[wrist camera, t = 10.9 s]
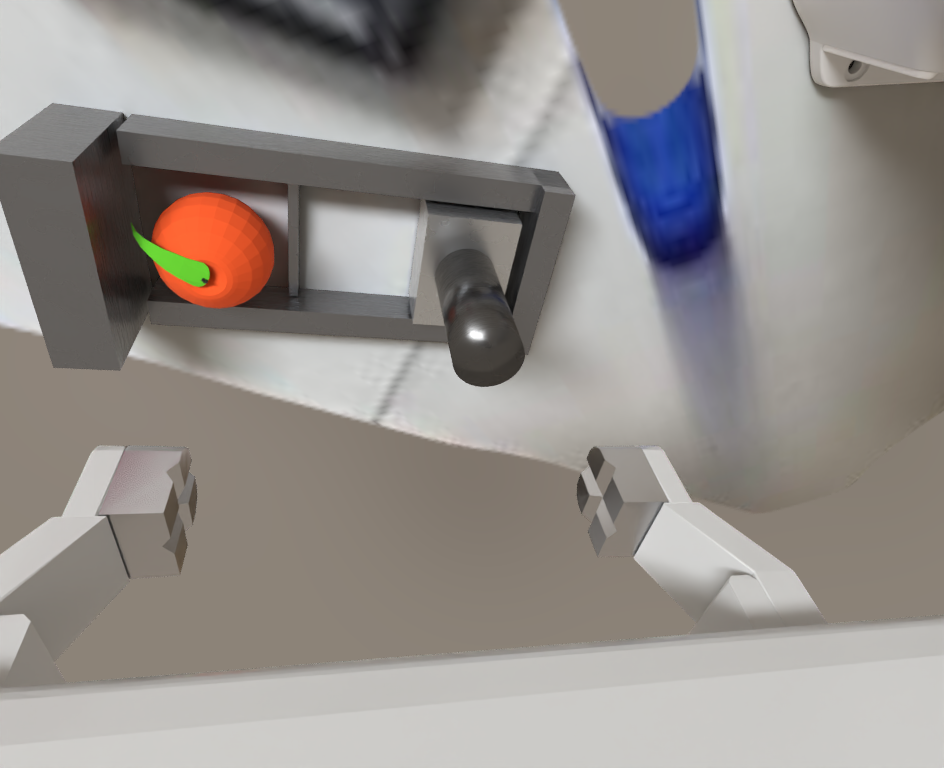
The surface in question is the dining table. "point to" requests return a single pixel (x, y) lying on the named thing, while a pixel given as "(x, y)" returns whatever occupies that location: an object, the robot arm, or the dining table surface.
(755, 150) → the dining table surface
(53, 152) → the press
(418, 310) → the ram
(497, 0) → the dining table surface
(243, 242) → the clementine
